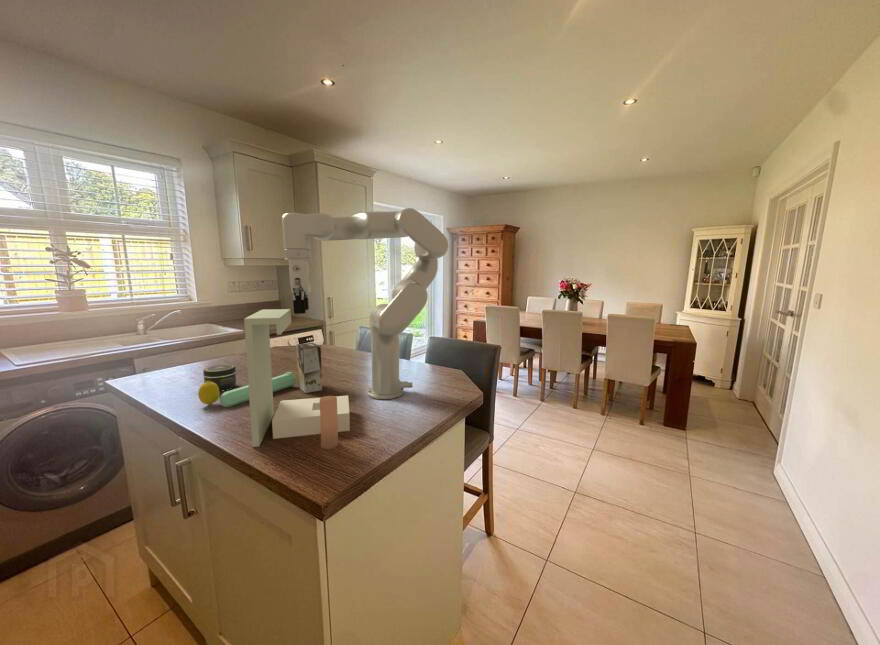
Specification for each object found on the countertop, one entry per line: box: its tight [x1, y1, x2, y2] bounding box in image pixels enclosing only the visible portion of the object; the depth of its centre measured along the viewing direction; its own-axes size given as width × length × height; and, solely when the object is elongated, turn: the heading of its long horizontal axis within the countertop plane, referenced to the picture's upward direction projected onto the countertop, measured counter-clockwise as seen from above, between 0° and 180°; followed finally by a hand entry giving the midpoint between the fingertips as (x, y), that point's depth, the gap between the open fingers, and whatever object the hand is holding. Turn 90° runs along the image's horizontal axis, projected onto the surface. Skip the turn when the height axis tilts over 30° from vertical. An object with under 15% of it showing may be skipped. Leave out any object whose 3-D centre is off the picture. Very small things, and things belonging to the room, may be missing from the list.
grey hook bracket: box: [243, 308, 292, 448], centre depth 94 cm, size 8×20×32 cm, turn 16°
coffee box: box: [296, 342, 323, 394], centre depth 127 cm, size 9×6×16 cm
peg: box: [319, 395, 339, 450], centre depth 86 cm, size 4×4×12 cm
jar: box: [202, 363, 237, 392], centre depth 127 cm, size 10×10×8 cm
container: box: [219, 371, 297, 408], centre depth 120 cm, size 6×6×25 cm
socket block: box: [271, 394, 351, 440], centre depth 99 cm, size 19×14×5 cm
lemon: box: [197, 381, 220, 406], centre depth 110 cm, size 6×6×8 cm
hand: (301, 311), depth 109 cm, fingers open, 9 cm apart
